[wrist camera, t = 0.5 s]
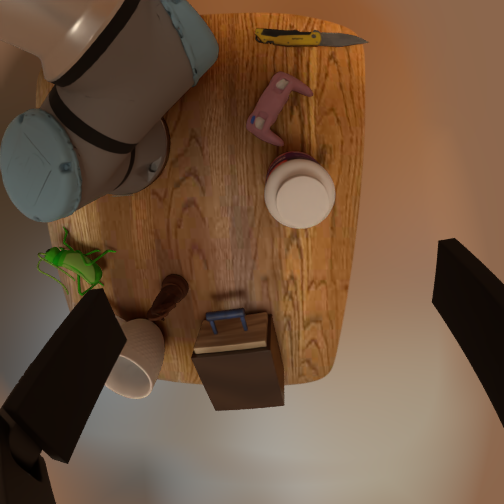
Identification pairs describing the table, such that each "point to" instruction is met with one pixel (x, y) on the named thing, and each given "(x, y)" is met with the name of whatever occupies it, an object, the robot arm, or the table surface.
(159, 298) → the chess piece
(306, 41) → the utility knife
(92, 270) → the toy
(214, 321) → the drawer
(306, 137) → the table surface
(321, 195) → the pill bottle
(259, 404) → the cabinet
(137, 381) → the mug
